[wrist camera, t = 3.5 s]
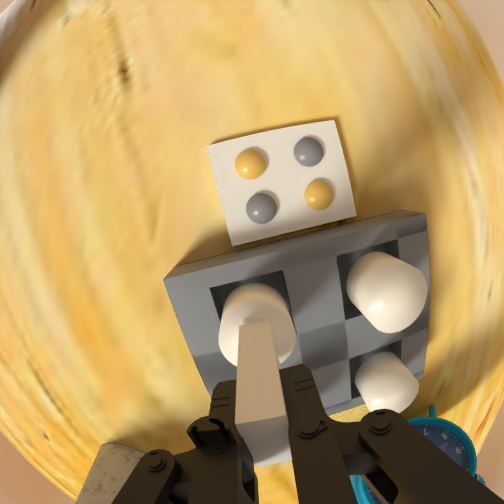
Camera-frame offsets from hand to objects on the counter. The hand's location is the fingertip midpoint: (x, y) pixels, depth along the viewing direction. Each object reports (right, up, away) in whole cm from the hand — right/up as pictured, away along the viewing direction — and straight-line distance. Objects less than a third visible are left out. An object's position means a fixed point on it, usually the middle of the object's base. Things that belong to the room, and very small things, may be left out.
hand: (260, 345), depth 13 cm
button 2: (+8, +3, +3) cm, 9 cm away
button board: (+5, -1, +7) cm, 9 cm away
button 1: (0, +1, +4) cm, 4 cm away
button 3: (+10, -5, +5) cm, 12 cm away
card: (+2, +10, +5) cm, 11 cm away
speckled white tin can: (-17, -24, +12) cm, 31 cm away
